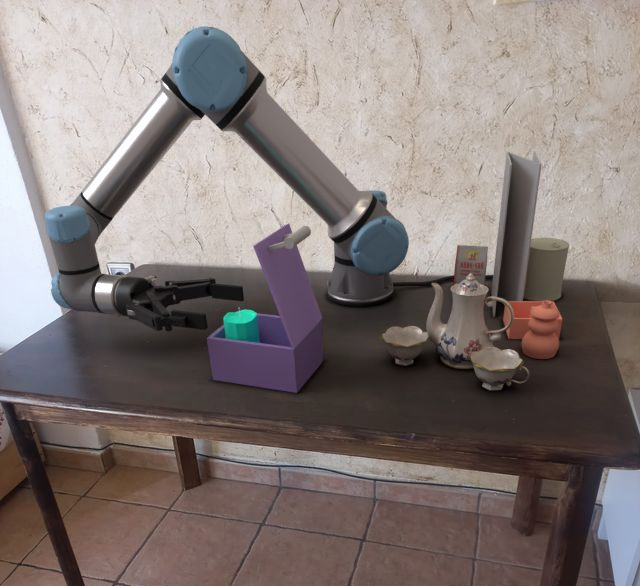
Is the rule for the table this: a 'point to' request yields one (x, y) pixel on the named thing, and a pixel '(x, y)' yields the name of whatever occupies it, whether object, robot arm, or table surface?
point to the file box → (266, 357)
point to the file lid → (289, 281)
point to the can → (545, 269)
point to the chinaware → (460, 336)
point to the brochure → (515, 227)
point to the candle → (242, 326)
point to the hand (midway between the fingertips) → (225, 307)
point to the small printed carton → (470, 263)
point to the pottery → (535, 327)
